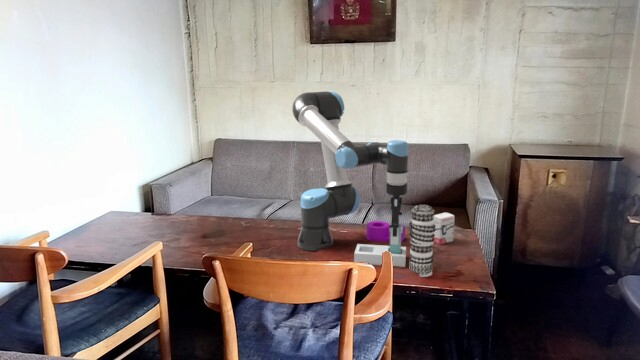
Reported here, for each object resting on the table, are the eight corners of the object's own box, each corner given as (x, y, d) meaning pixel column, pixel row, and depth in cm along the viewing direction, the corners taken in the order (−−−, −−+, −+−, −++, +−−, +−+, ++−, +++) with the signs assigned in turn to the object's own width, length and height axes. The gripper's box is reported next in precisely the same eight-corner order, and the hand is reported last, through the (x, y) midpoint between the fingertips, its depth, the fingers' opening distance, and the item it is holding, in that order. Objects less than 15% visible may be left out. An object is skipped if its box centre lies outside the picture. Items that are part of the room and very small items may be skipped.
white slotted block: (354, 265, 178) (354, 253, 177) (357, 255, 188) (357, 243, 187) (405, 269, 175) (405, 256, 174) (405, 258, 184) (406, 246, 183)
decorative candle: (405, 275, 170) (407, 208, 164) (410, 265, 178) (412, 201, 172) (431, 279, 166) (434, 211, 161) (434, 268, 175) (438, 204, 169)
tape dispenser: (363, 240, 205) (363, 226, 204) (370, 233, 214) (370, 220, 213) (399, 245, 199) (400, 231, 198) (405, 237, 208) (405, 224, 207)
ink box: (439, 245, 198) (441, 218, 195) (431, 241, 202) (432, 215, 199) (453, 240, 203) (455, 214, 200) (444, 237, 207) (446, 211, 204)
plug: (389, 262, 179) (390, 226, 175) (389, 258, 182) (390, 223, 179) (401, 263, 178) (402, 227, 174) (401, 258, 181) (402, 223, 178)
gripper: (406, 192, 160) (404, 250, 165) (407, 175, 184) (406, 227, 189) (384, 191, 162) (383, 249, 167) (388, 175, 186) (387, 226, 191)
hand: (395, 237), depth 178 cm, fingers open, 13 cm apart
